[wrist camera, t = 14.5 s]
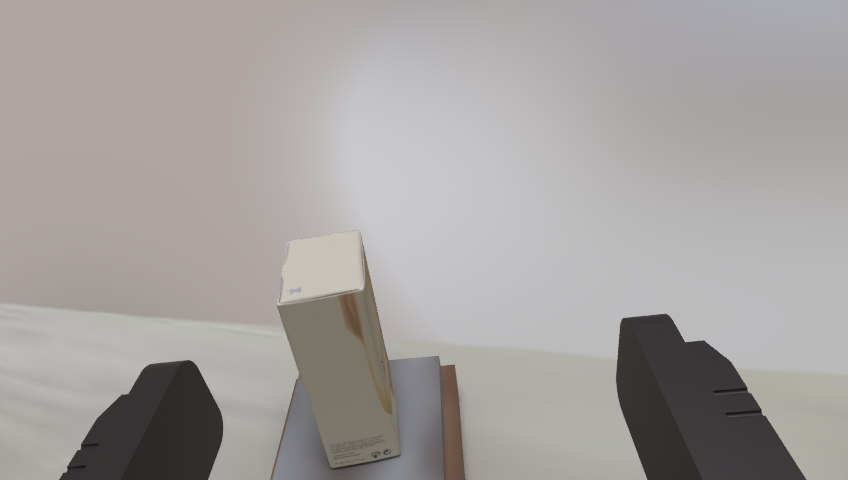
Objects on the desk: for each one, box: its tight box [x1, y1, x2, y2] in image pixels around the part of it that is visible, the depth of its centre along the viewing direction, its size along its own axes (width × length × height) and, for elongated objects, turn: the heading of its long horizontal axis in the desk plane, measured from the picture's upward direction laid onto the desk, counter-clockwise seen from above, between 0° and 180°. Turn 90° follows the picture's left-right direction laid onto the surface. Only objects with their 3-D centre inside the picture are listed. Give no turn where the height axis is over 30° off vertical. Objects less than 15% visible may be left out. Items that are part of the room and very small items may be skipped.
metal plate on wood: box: [270, 356, 465, 480], centre depth 36 cm, size 12×12×5 cm
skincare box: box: [277, 230, 401, 468], centre depth 31 cm, size 6×4×12 cm
